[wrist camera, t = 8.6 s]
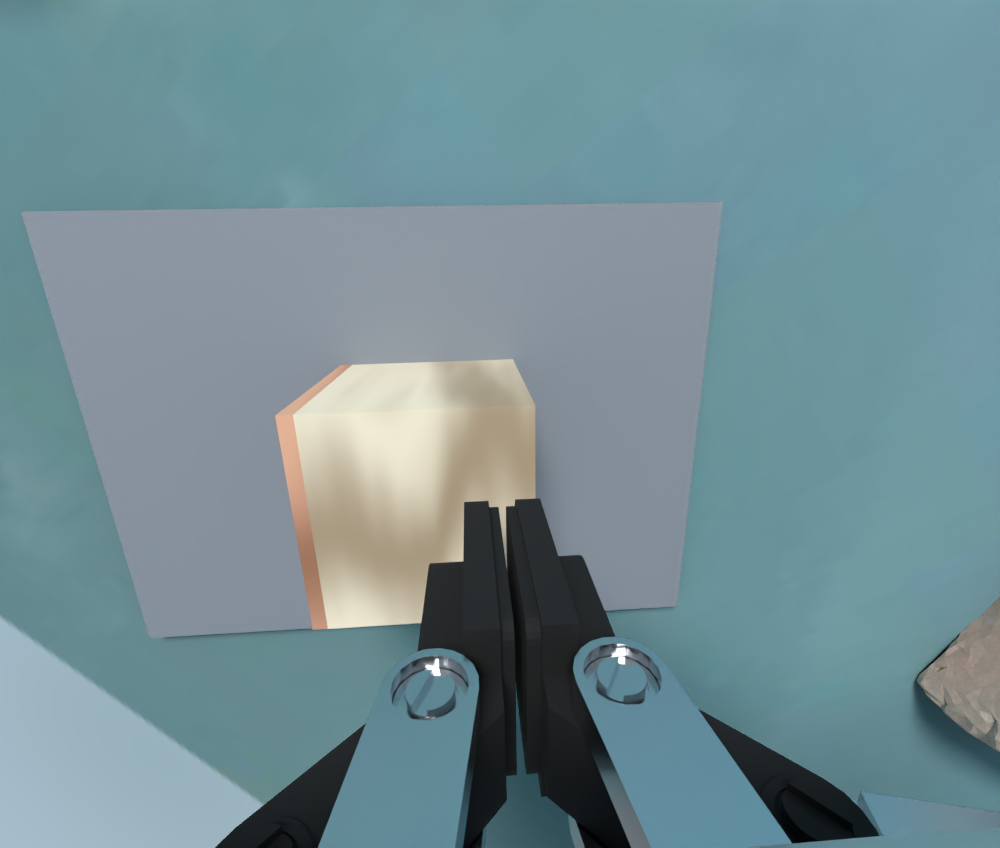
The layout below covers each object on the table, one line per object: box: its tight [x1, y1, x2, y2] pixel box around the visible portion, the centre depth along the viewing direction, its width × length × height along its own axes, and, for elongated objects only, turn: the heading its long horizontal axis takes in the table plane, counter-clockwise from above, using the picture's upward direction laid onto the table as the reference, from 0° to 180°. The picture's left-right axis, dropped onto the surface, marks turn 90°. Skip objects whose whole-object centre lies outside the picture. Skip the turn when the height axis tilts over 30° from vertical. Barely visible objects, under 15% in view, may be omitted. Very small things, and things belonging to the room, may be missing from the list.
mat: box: [21, 202, 723, 638], centre depth 18 cm, size 16×22×1 cm
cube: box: [275, 359, 535, 630], centre depth 15 cm, size 6×6×6 cm
